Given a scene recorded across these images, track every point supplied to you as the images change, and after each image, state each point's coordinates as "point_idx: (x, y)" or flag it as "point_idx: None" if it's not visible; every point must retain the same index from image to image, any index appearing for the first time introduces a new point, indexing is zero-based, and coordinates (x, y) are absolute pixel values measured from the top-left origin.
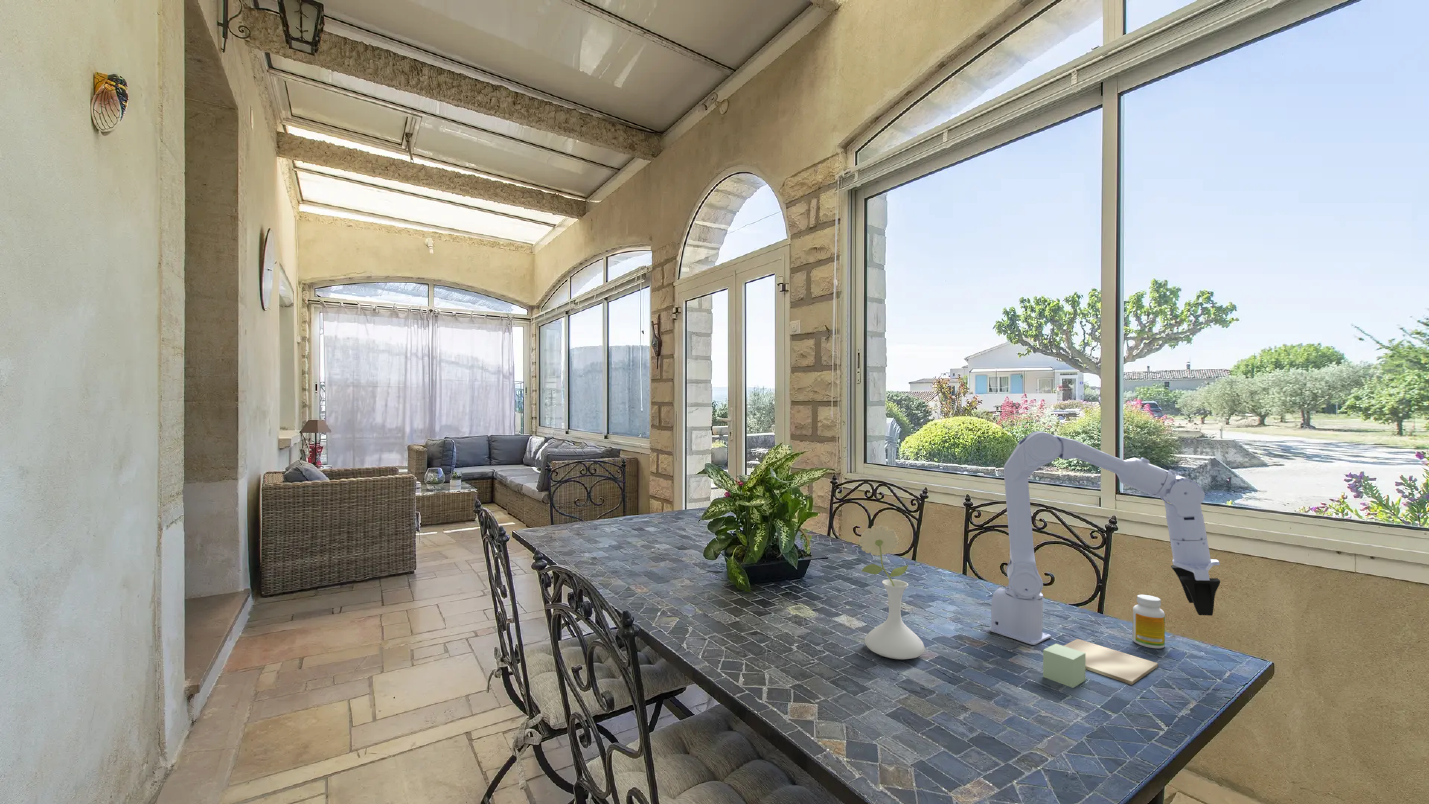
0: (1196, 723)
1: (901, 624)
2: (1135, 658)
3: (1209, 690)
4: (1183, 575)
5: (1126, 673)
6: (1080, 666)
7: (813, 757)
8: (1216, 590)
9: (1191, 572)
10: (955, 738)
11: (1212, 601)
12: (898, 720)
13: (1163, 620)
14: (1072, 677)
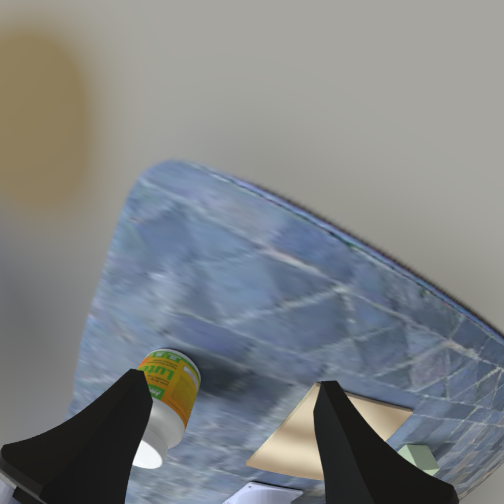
0: (492, 342)
1: None
2: (307, 413)
3: (402, 316)
4: (115, 501)
5: (385, 420)
6: (423, 459)
7: (494, 471)
8: (415, 466)
9: (94, 501)
10: (491, 453)
11: (367, 428)
12: (472, 476)
13: (165, 396)
14: (431, 454)
